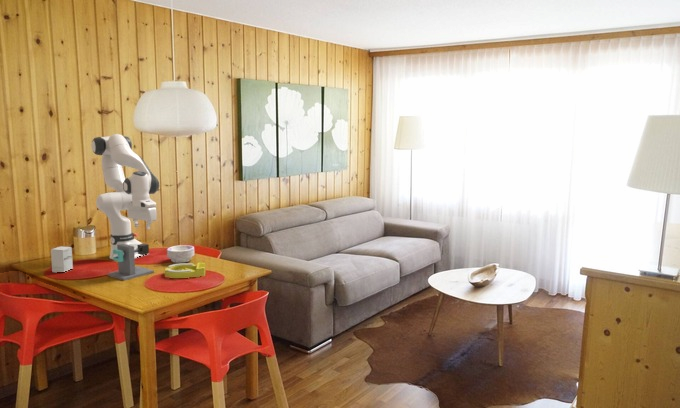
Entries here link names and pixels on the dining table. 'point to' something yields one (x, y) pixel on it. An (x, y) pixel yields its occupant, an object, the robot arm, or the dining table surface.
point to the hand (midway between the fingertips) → (142, 227)
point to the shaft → (138, 250)
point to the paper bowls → (180, 253)
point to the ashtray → (185, 270)
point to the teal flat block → (120, 255)
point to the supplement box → (61, 259)
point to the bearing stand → (128, 265)
